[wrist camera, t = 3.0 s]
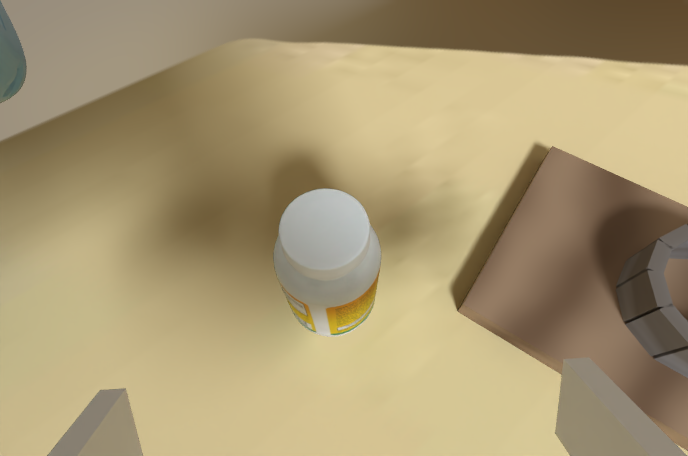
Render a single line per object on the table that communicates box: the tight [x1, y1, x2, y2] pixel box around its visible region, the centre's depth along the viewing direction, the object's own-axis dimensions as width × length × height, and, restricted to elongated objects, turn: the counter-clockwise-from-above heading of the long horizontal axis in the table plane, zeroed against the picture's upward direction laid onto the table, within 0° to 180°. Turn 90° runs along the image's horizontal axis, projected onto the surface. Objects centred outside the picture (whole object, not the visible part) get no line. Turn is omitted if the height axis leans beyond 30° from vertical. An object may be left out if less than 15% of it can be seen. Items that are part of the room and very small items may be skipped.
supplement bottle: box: [273, 188, 381, 336], centre depth 22 cm, size 5×5×10 cm
